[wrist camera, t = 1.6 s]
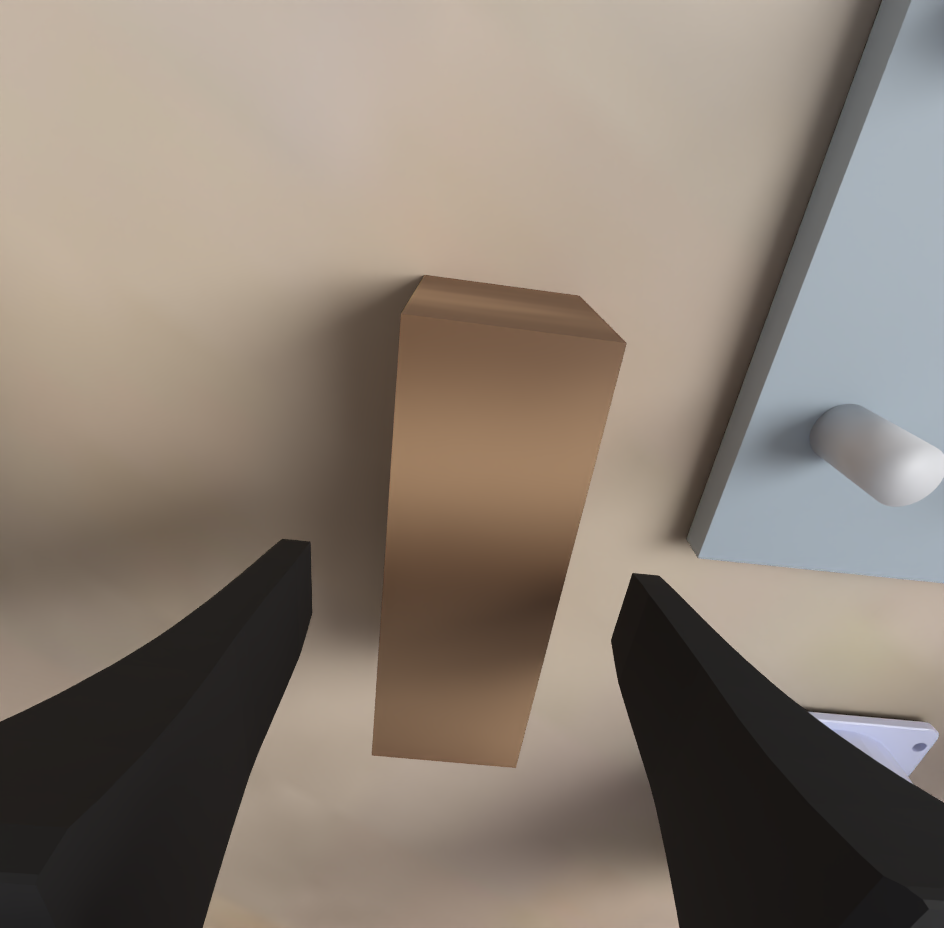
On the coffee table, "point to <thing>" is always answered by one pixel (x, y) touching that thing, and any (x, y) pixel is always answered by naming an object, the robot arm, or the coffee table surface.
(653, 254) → the coffee table surface
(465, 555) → the walnut bar
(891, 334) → the peg board
